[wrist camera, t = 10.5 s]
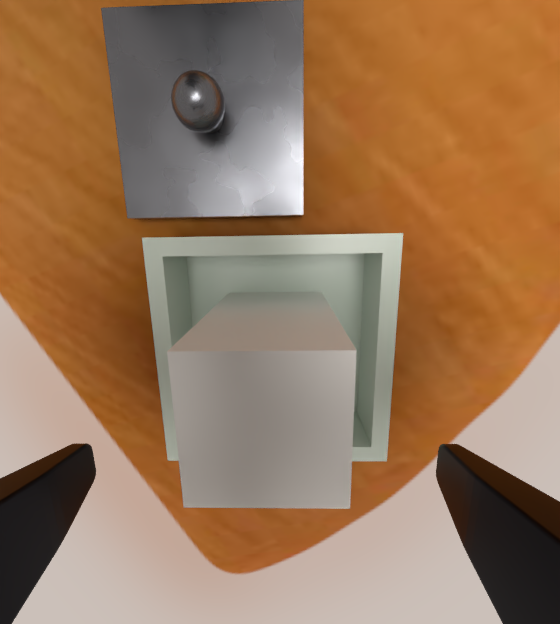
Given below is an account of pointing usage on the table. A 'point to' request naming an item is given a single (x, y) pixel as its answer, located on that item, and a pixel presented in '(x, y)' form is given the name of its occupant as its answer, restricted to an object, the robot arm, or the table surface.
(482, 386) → the table surface
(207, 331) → the grey tall block
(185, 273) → the bin
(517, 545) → the robot arm
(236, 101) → the stud plate
